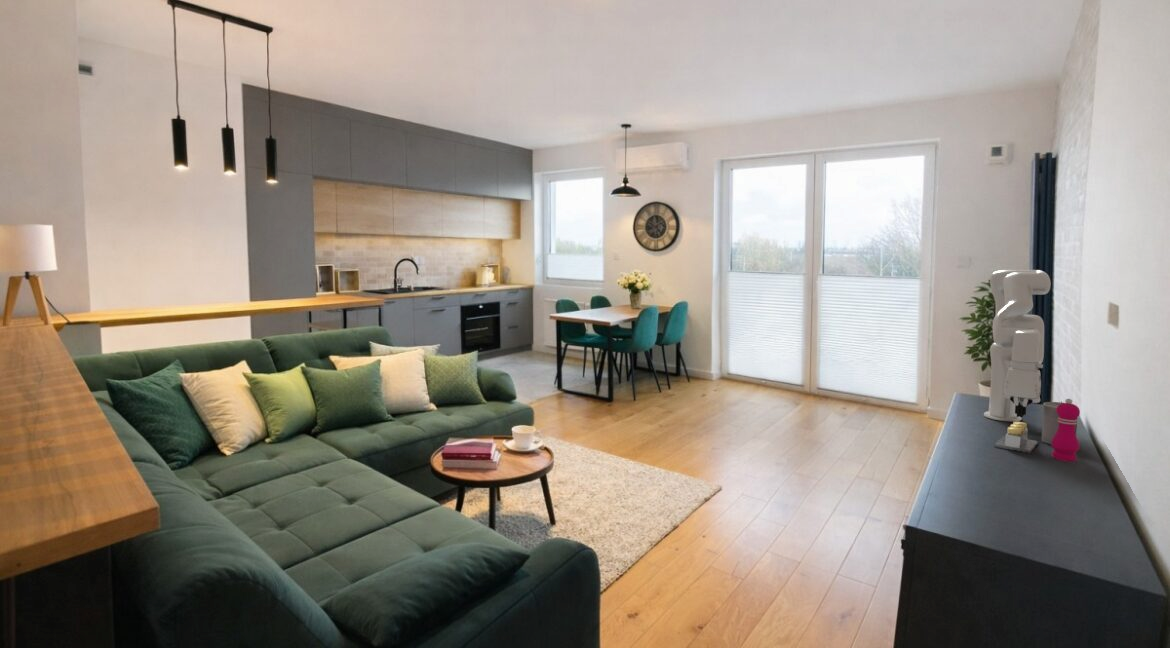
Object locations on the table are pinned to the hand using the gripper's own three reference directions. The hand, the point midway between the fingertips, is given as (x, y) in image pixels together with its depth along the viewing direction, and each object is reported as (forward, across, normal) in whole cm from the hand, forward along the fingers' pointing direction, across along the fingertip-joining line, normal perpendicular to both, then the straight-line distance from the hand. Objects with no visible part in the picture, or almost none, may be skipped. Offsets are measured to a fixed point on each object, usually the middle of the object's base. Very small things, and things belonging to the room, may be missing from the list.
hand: (1020, 416), depth 216 cm
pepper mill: (+9, -14, +11) cm, 20 cm away
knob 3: (+8, 0, +1) cm, 8 cm away
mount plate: (+9, 0, +6) cm, 11 cm away
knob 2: (+8, 0, +10) cm, 13 cm away
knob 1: (+8, 0, +6) cm, 10 cm away
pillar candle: (+10, -10, -8) cm, 16 cm away
